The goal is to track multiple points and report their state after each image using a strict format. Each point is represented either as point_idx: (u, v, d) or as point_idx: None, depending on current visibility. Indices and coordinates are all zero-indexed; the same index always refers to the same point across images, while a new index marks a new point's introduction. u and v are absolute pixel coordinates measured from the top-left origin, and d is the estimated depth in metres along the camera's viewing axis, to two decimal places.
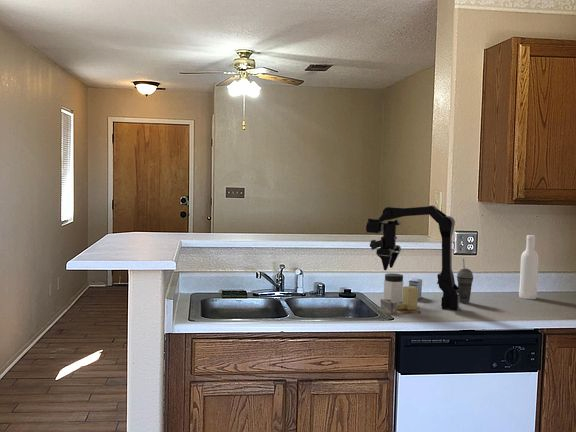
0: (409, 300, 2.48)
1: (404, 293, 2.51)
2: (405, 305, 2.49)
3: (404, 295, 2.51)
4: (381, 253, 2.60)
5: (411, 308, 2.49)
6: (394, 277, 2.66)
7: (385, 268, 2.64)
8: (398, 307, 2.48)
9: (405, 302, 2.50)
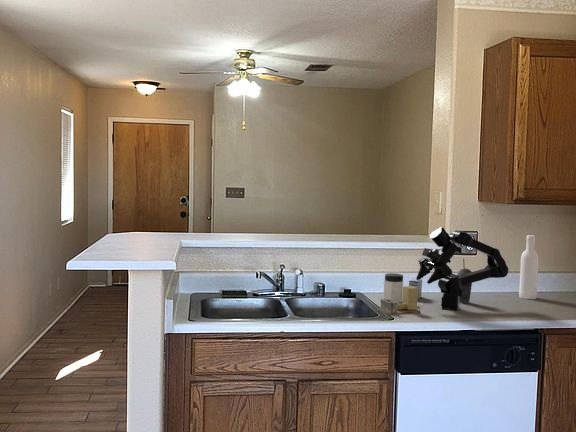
0: (409, 300, 2.48)
1: (404, 293, 2.51)
2: (405, 305, 2.49)
3: (404, 295, 2.51)
4: (445, 269, 2.45)
5: (411, 308, 2.49)
6: (394, 277, 2.66)
7: (430, 281, 2.48)
8: (398, 307, 2.48)
9: (405, 302, 2.50)
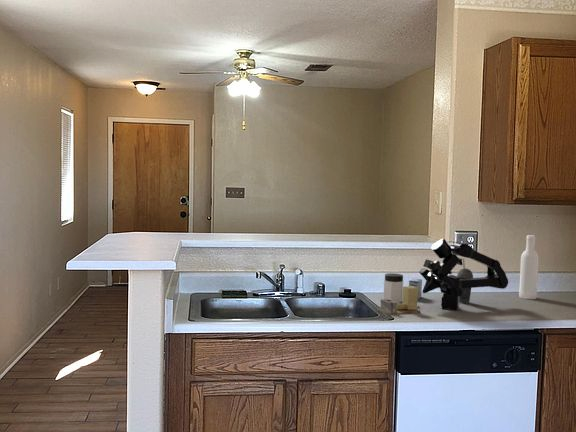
0: (409, 300, 2.48)
1: (404, 293, 2.51)
2: (405, 305, 2.49)
3: (404, 295, 2.51)
4: (447, 281, 2.45)
5: (411, 308, 2.49)
6: (394, 277, 2.66)
7: (425, 291, 2.52)
8: (398, 307, 2.48)
9: (405, 302, 2.50)
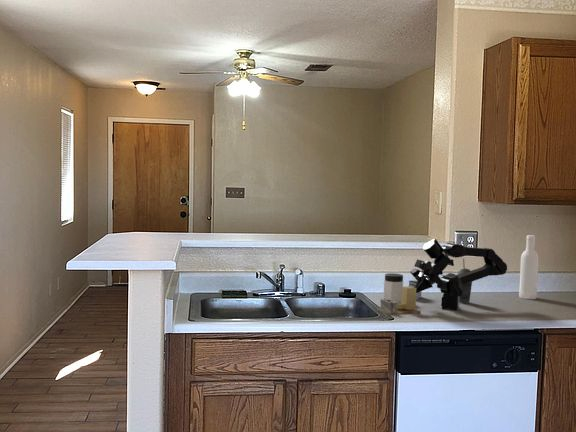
0: (408, 300, 2.48)
1: (402, 294, 2.51)
2: (404, 305, 2.49)
3: (403, 295, 2.51)
4: (437, 281, 2.44)
5: (410, 308, 2.49)
6: (394, 277, 2.66)
7: (416, 291, 2.51)
8: (397, 307, 2.48)
9: (404, 302, 2.50)
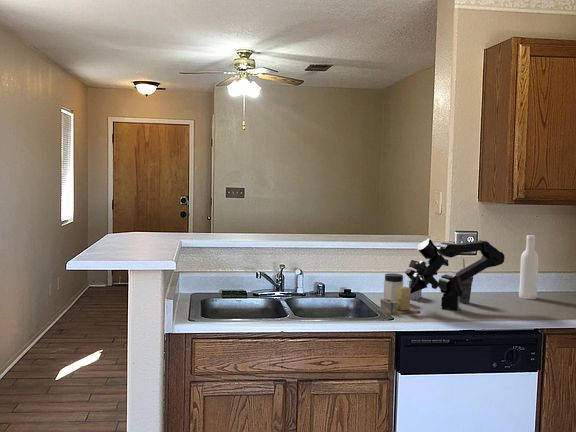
0: (402, 300, 2.47)
1: (397, 294, 2.50)
2: (398, 305, 2.48)
3: (397, 295, 2.50)
4: (432, 282, 2.43)
5: (404, 308, 2.48)
6: (394, 277, 2.66)
7: (411, 292, 2.50)
8: None
9: (398, 302, 2.49)
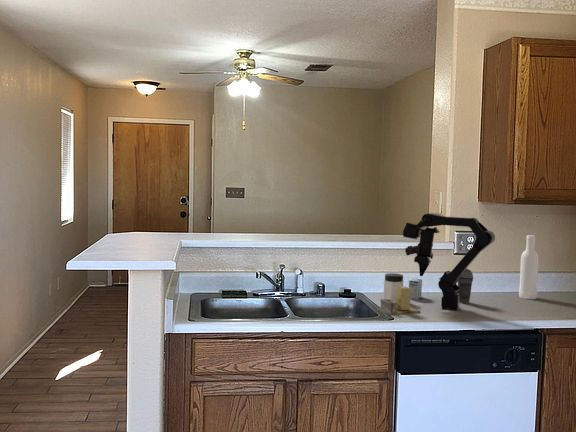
0: (402, 300, 2.47)
1: (397, 294, 2.50)
2: (398, 305, 2.48)
3: (397, 295, 2.50)
4: (419, 261, 2.54)
5: (404, 308, 2.48)
6: (394, 277, 2.66)
7: (421, 274, 2.63)
8: None
9: (398, 302, 2.49)
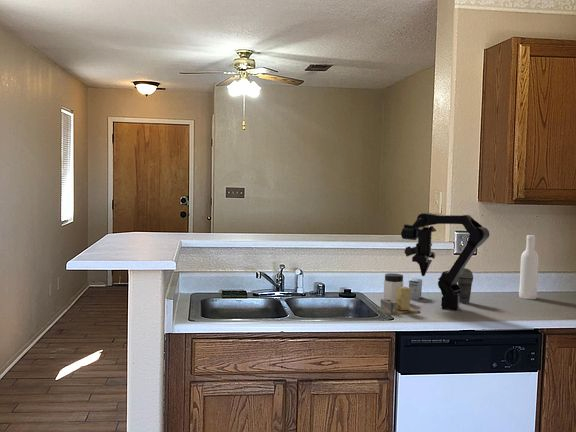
0: (402, 300, 2.47)
1: (397, 294, 2.50)
2: (398, 305, 2.48)
3: (397, 295, 2.50)
4: (417, 260, 2.57)
5: (404, 308, 2.48)
6: (394, 277, 2.66)
7: (423, 274, 2.65)
8: None
9: (398, 302, 2.49)
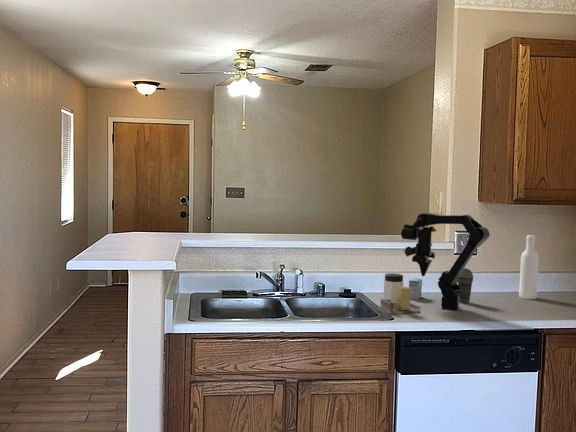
0: (402, 300, 2.47)
1: (397, 294, 2.50)
2: (398, 305, 2.48)
3: (397, 295, 2.50)
4: (417, 260, 2.57)
5: (404, 308, 2.48)
6: (394, 277, 2.66)
7: (423, 274, 2.65)
8: None
9: (398, 302, 2.49)
